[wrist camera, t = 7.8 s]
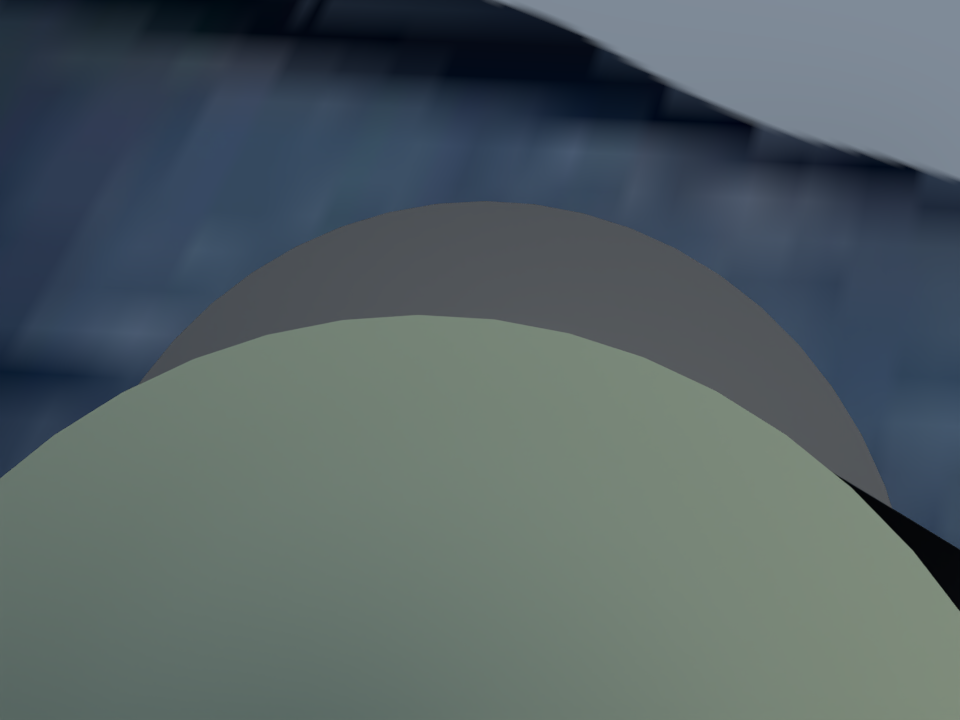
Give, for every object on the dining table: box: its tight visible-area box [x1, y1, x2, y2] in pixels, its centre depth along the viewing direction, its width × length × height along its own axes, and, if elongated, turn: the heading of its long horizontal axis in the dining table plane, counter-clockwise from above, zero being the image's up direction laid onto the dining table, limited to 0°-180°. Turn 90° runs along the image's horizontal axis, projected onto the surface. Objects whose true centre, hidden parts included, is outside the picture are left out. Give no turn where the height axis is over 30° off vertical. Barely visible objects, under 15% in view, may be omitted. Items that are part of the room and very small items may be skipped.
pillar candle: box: [0, 315, 960, 720], centre depth 9 cm, size 5×5×14 cm
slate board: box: [139, 201, 892, 508], centre depth 16 cm, size 18×18×1 cm
